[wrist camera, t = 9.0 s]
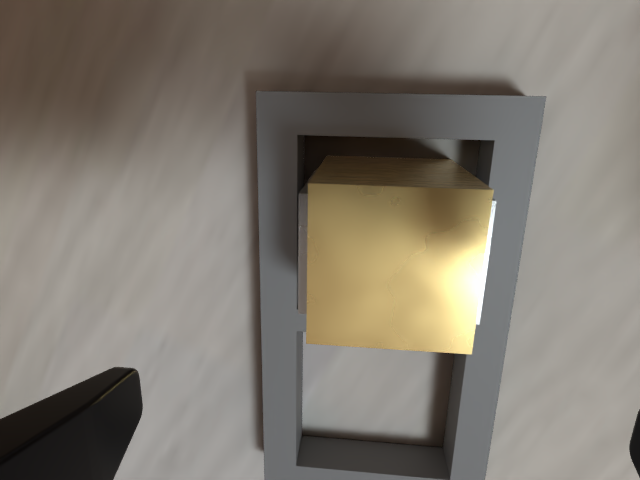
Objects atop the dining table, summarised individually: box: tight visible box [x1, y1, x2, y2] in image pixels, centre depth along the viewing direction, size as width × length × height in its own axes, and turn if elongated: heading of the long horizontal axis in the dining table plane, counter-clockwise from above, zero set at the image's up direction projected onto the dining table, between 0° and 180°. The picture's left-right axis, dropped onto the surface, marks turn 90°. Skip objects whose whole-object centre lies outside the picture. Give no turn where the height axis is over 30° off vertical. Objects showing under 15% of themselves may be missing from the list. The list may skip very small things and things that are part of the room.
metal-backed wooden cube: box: [298, 156, 496, 354], centre depth 16 cm, size 6×5×6 cm
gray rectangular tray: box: [256, 91, 546, 480], centre depth 19 cm, size 10×18×2 cm, turn 179°
